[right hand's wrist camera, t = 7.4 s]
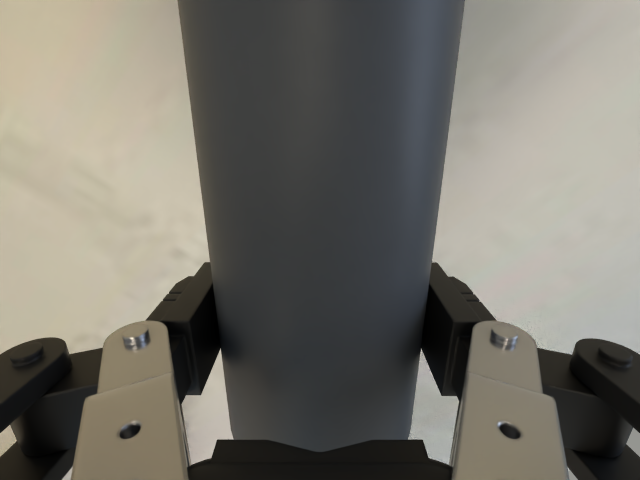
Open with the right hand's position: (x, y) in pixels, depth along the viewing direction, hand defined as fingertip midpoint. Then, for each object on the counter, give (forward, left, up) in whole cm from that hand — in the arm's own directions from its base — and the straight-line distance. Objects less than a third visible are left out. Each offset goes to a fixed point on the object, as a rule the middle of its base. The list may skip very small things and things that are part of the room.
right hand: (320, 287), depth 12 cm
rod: (-9, +2, -2) cm, 9 cm away
